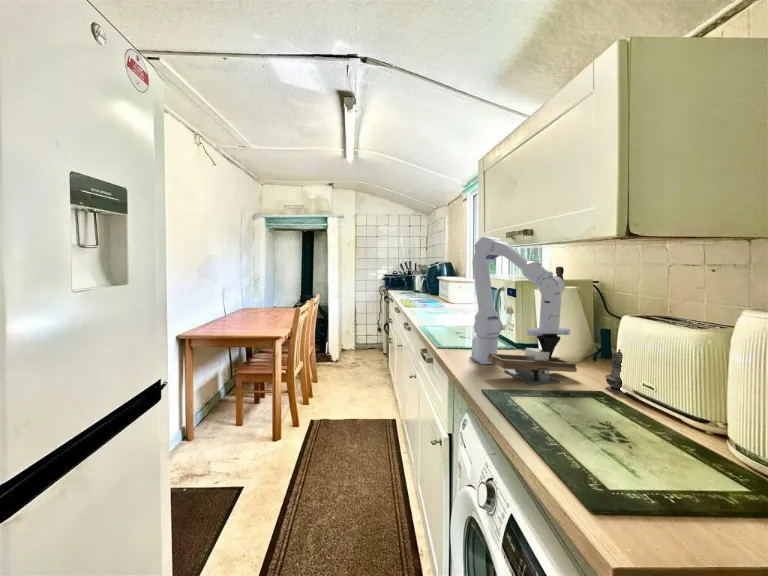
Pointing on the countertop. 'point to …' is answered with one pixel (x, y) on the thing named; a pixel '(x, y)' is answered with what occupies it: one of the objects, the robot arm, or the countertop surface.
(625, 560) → the countertop surface
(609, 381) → the dark grey chess piece
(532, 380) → the fulcrum stand
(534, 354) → the white block
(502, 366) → the brown wooden tray
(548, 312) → the robot arm
